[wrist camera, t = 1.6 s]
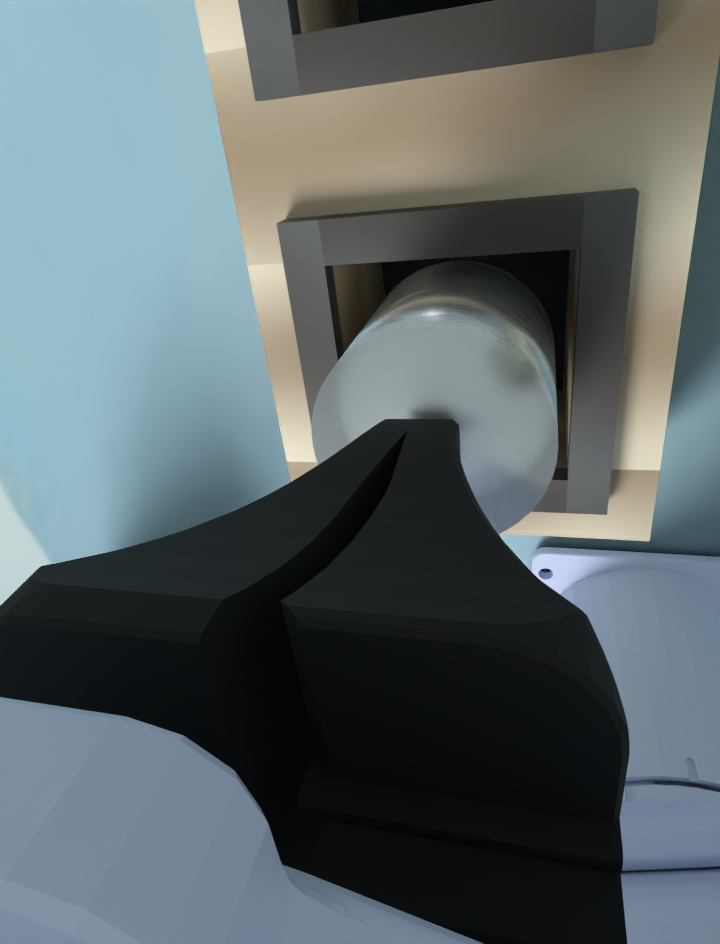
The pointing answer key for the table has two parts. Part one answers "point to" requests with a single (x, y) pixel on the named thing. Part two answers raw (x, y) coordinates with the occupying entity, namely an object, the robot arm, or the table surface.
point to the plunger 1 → (456, 380)
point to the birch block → (477, 196)
